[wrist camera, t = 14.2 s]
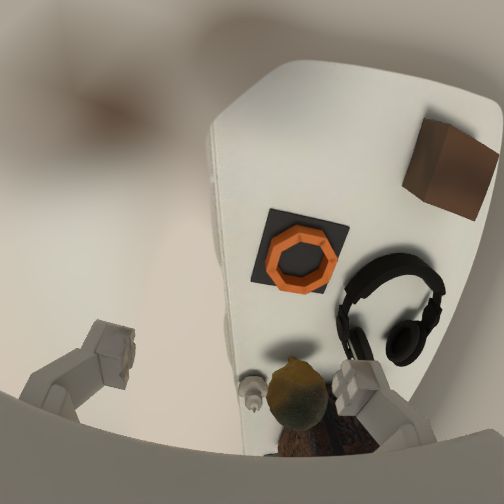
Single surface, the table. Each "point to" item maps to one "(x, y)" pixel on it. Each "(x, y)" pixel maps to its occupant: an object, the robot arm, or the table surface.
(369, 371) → the robot arm
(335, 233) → the mat
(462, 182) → the block
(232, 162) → the table surface
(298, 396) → the decorative stone
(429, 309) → the headphones
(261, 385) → the tiered spinning top
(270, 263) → the ring
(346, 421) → the decorative box
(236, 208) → the table surface
